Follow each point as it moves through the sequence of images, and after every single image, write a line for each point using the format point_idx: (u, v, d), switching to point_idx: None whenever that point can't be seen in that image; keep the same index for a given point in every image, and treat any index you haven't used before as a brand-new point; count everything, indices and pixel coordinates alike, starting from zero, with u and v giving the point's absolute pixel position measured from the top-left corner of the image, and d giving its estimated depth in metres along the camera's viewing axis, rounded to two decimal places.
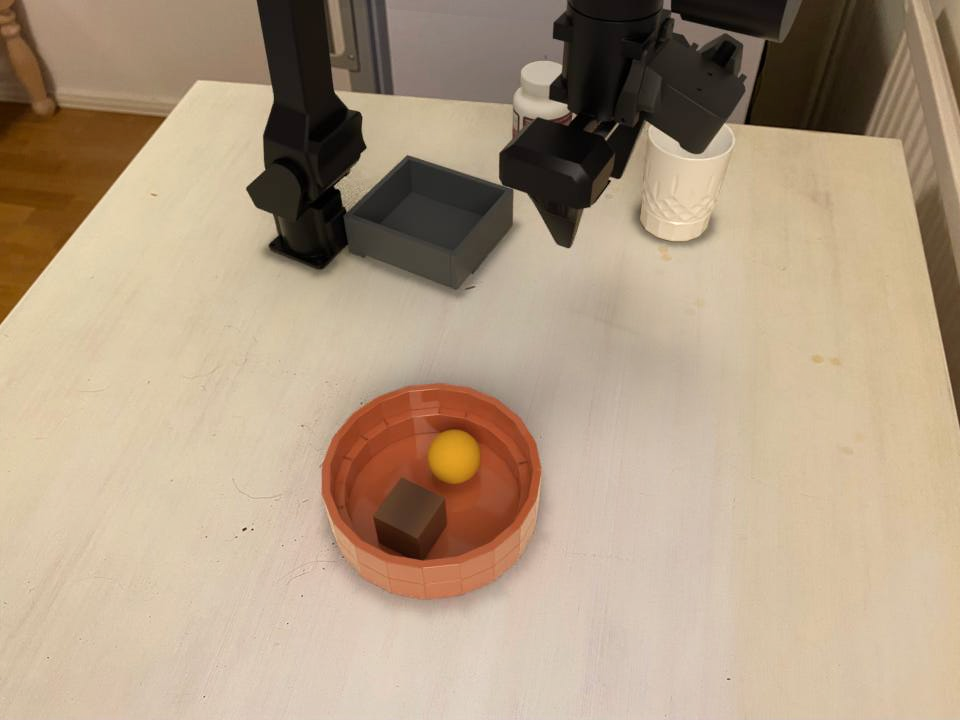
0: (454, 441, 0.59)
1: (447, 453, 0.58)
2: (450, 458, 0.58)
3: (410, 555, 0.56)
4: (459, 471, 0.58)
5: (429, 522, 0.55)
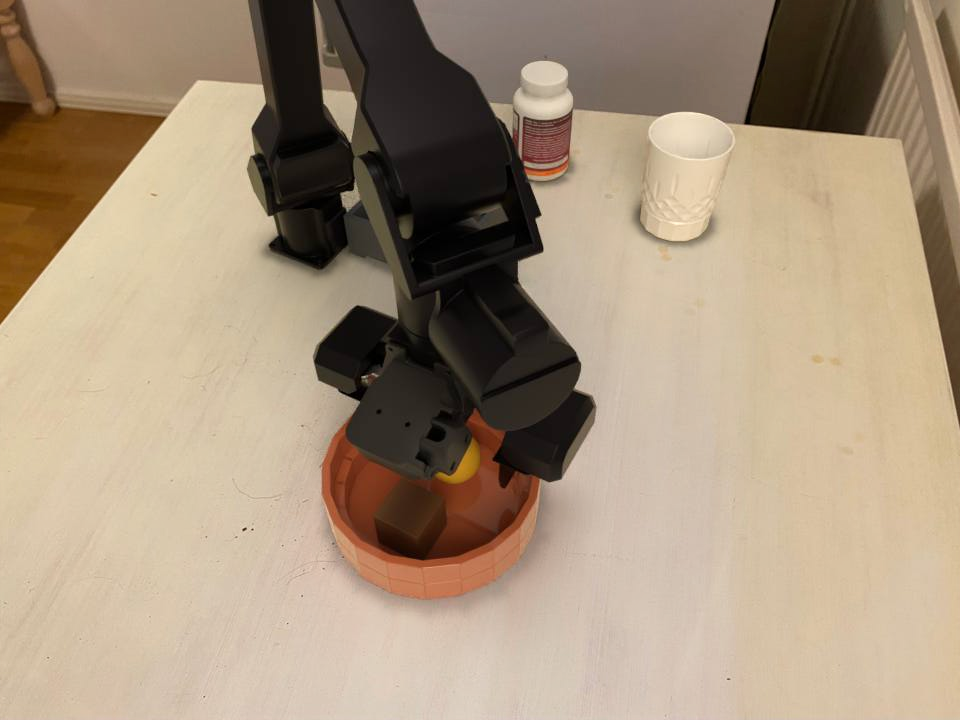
0: None
1: None
2: None
3: (410, 555, 0.56)
4: (459, 471, 0.58)
5: (429, 522, 0.55)
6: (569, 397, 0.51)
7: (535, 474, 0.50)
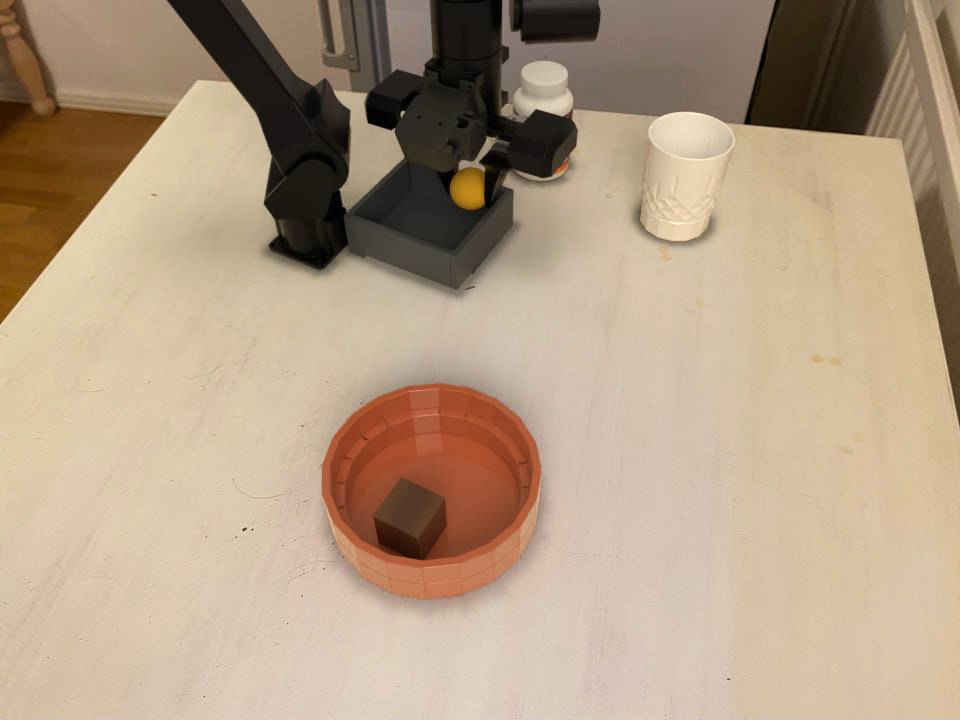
0: (471, 171, 0.75)
1: (466, 179, 0.75)
2: (468, 182, 0.75)
3: (410, 555, 0.56)
4: (475, 193, 0.75)
5: (429, 522, 0.55)
6: (557, 119, 0.69)
7: (532, 173, 0.68)
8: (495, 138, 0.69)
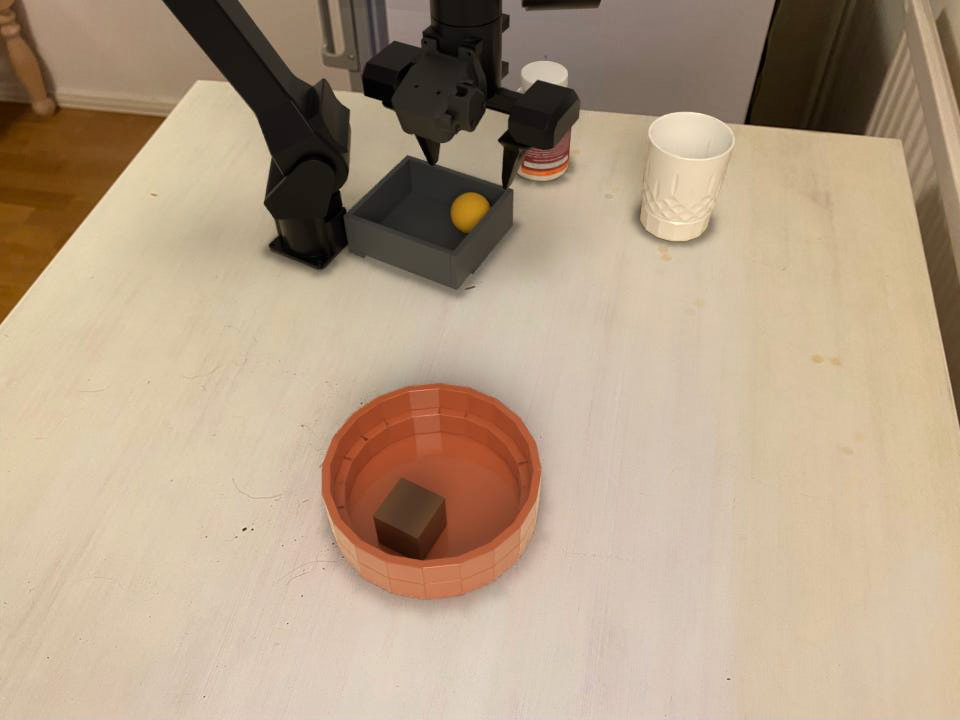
0: (471, 196, 0.78)
1: (466, 204, 0.77)
2: (468, 208, 0.77)
3: (410, 555, 0.56)
4: (475, 218, 0.77)
5: (429, 522, 0.55)
6: (559, 90, 0.67)
7: (533, 144, 0.66)
8: None
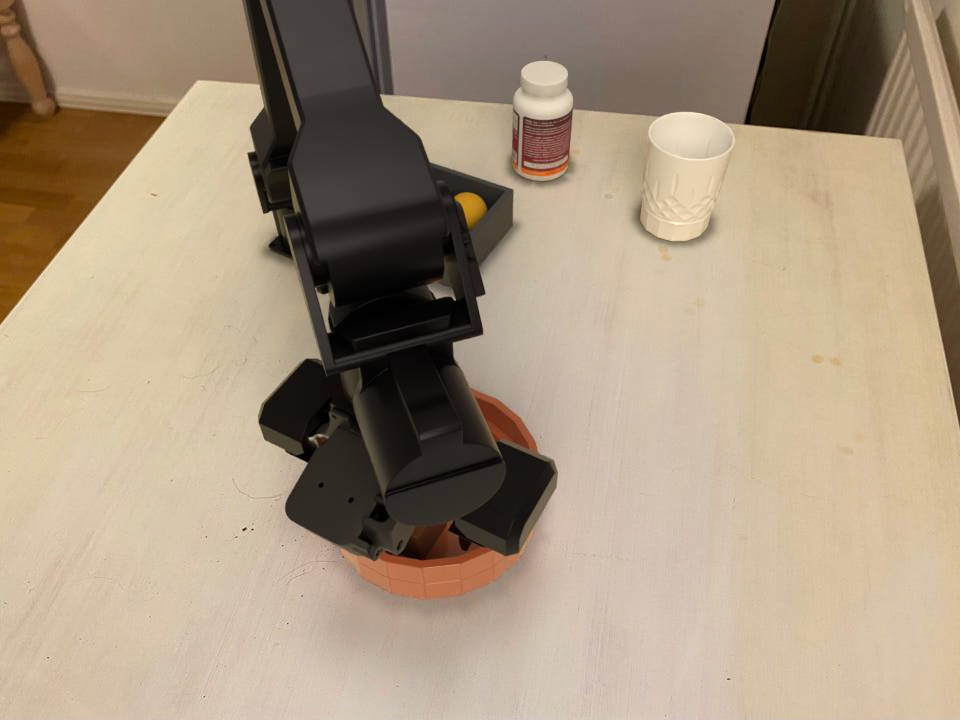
0: (463, 197, 0.78)
1: None
2: None
3: (410, 555, 0.56)
4: (469, 218, 0.77)
5: None
6: (528, 463, 0.47)
7: (491, 547, 0.47)
8: None
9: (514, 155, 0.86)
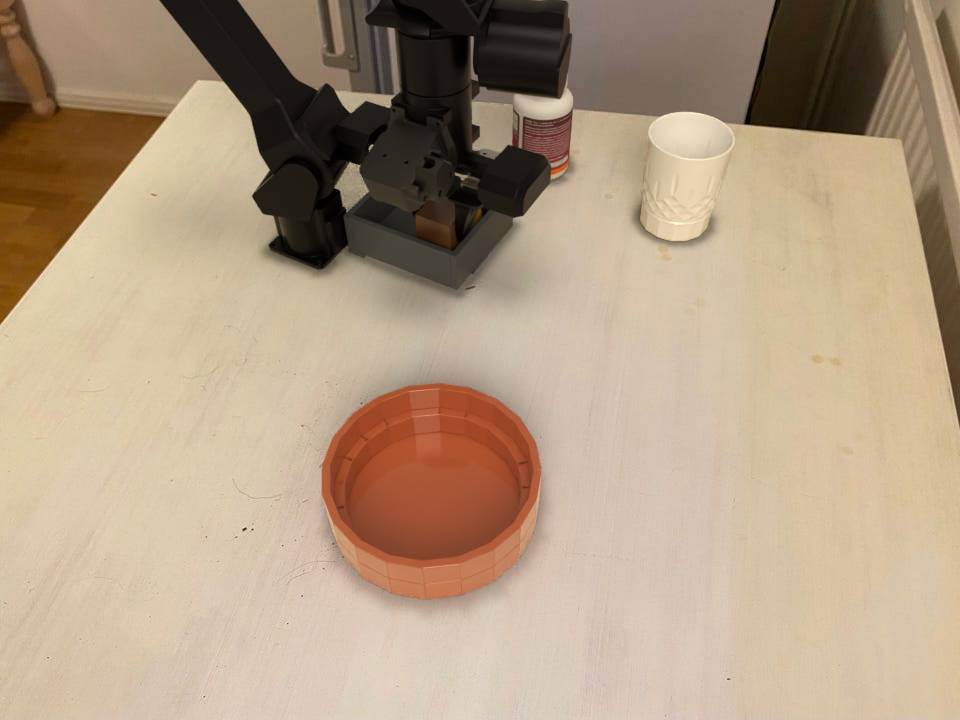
0: None
1: None
2: None
3: None
4: None
5: None
6: (530, 156, 0.66)
7: (503, 212, 0.65)
8: (467, 175, 0.67)
9: None
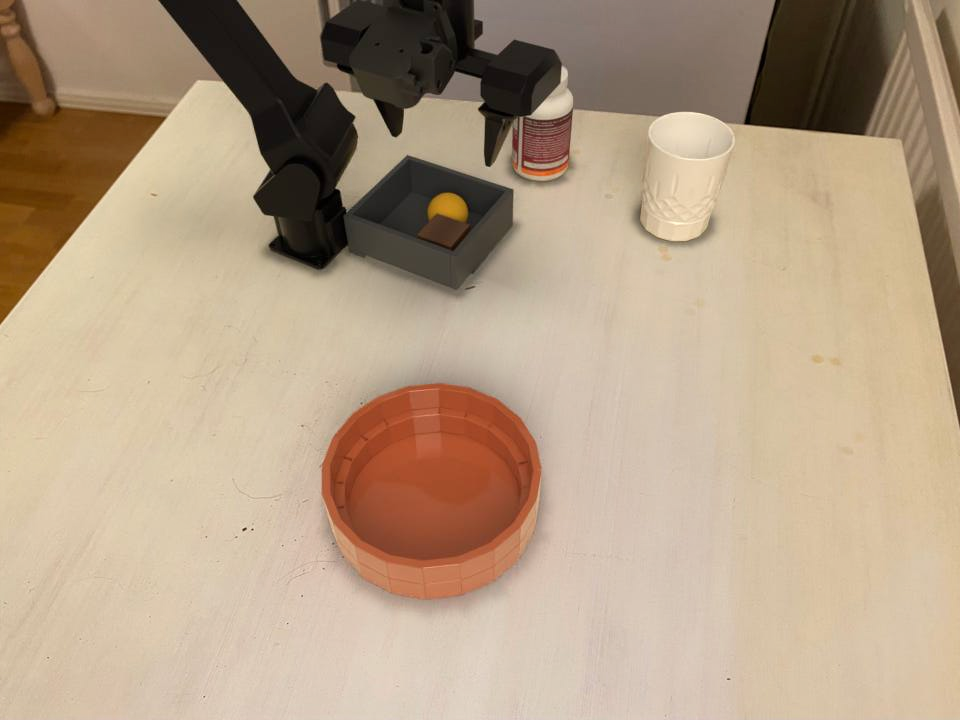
0: (429, 206, 0.78)
1: (429, 217, 0.78)
2: (431, 218, 0.78)
3: None
4: None
5: (459, 239, 0.74)
6: (538, 50, 0.60)
7: (509, 110, 0.59)
8: None
9: (514, 155, 0.86)
